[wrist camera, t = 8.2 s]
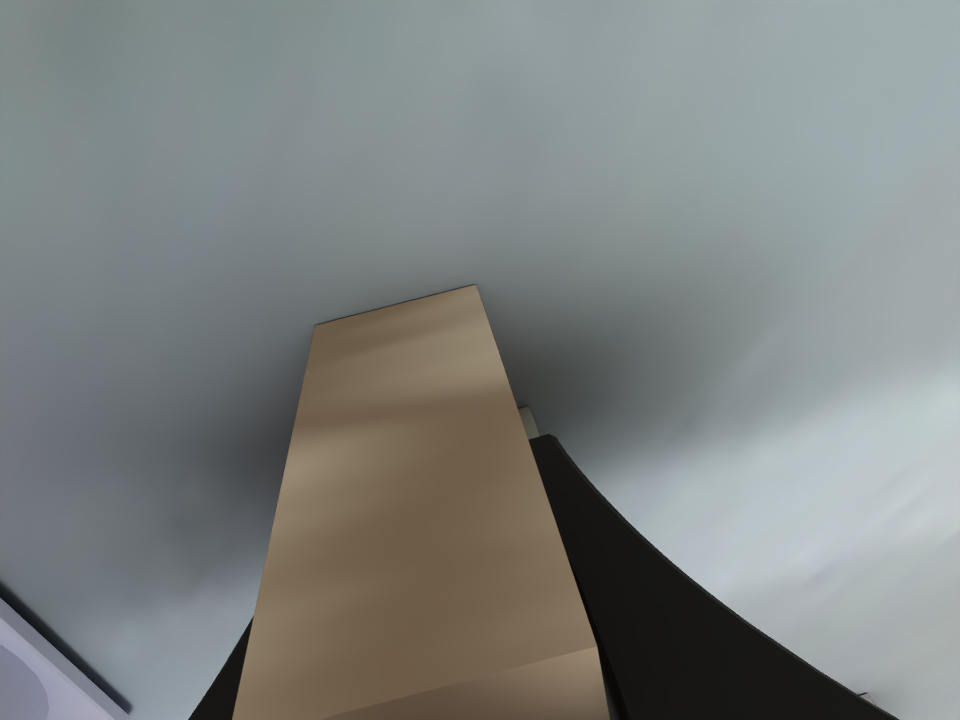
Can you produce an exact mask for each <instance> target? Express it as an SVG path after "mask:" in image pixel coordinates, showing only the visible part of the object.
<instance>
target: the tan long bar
mask: <svg viewBox="0 0 960 720" xmlns="http://www.w3.org/2000/svg"><path fill="white" fill-rule="evenodd" d="M536 437H540V434H539V432H538V429H537V426H536V423H535V421H534V418H533V415H532V412H531V410H530V407H529V406H528V407H524V408H520V409H518V408H517V405H516V402H515V399H514V396H513V393H512V390H511V387H510V384H509V381H508V378H507V375H506V372H505V369H504V366H503V363H502V360H501V357H500V354H499V351H498V348H497V345H496V342H495V339H494V336H493V333H492V330H491V327H490V324H489V321H488V318H487V315H486V312H485V309H484V306H483V303H482V300H481V297H480V294H479V291H478V288H477V286H476V285H472V286H468V287H464V288H460V289H456V290H452V291H448V292H444V293H440V294H436V295H433V296H429V297H425V298H421V299H417V300H413V301H409V302H405V303H401V304H397V305H393V306H389V307H386V308H382V309H378V310H374V311H370V312H366V313H362V314H358V315H354V316H350V317H346V318H342V319H338V320H335V321H331V322H327V323H323V324H319V325H315V327H314V332H313V337H312V342H311V346H310V351H309V356H308V361H307V365H306V370H305V375H304V380H303V385H302V389H301V394H300V399H299V404H298V408H297V413H296V418H295V423H294V427H293V432H292V437H291V442H290V446H289V451H288V456H287V461H286V466H285V470H284V475H283V480H282V485H281V489H280V494H279V499H278V504H277V508H276V513H275V518H274V523H273V528H272V532H271V537H270V542H269V547H268V551H267V556H266V561H265V566H264V570H263V575H262V580H261V585H260V589H259V594H258V599H257V604H256V609H255V613H254V618H253V623H252V628H251V632H250V637H249V642H248V647H247V651H246V656H245V661H244V666H243V670H242V675H241V680H240V685H239V690H238V694H237V699H236V704H235V709H234V713H233V718H232V720H610V718H609V712H608V706H607V700H606V695H605V689H604V683H603V677H602V671H601V666H600V660H599V654H598V648H597V644H596V641H595V638H594V635H593V632H592V629H591V626H590V623H589V620H588V617H587V614H586V611H585V608H584V605H583V602H582V599H581V596H580V593H579V590H578V587H577V585H576V582H575V579H574V576H573V573H572V570H571V567H570V564H569V561H568V558H567V555H566V552H565V549H564V546H563V543H562V540H561V537H560V534H559V531H558V528H557V525H556V522H555V519H554V516H553V513H552V510H551V507H550V504H549V501H548V498H547V495H546V492H545V489H544V486H543V483H542V480H541V477H540V474H539V471H538V468H537V465H536V462H535V459H534V456H533V453H532V450H531V447H530V444H529V441H528V439H532V438H536Z"/></svg>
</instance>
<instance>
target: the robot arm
mask: <svg viewBox="0 0 960 720" xmlns="http://www.w3.org/2000/svg"><path fill="white" fill-rule="evenodd" d="M528 441H529V444H530V447H531V450H532V453H533V456H534V459H535V462H536V465H537V468H538V471H539V474H540V477H541V480H542V483H543V486H544V489H545V492H546V495H547V498H548V501H549V504H550V507H551V510H552V513H553V516H554V519H555V522H556V525H557V528H558V531H559V534H560V537H561V540H562V543H563V546H564V549H565V552H566V555H567V558H568V561H569V564H570V567H571V570H572V573H573V576H574V579H575V582H576V585H577V587H578V590H579V593H580V596H581V599H582V602H583V605H584V608H585V611H586V614H587V617H588V620H589V623H590V626H591V629H592V632H593V635H594V638H595V641H596V644H597V648H598V654H599V660H600V666H601V671H602V677H603V683H604V689H605V695H606V700H607V706H608V712H609V718H610V720H899V719H897V718H896V717H894V716H892V715H890V714H889V713H887V712H885V711H884V710H882V709H880V708H879V707H877V706H875V705H873V704H872V703H870V702H869V701H867V700H865V699H864V698H862V697H861V696H859V695H857V694H856V693H854V692H852V691H851V690H849V689H848V688H846V687H844V686H843V685H841V684H840V683H838V682H836V681H835V680H833V679H832V678H830V677H828V676H827V675H825V674H824V673H822V672H820V671H819V670H817V669H816V668H814V667H813V666H811V665H810V664H808V663H807V662H806V661H804V660H803V659H801V658H800V657H798V656H797V655H795V654H794V653H792V652H791V651H789V650H788V649H786V648H785V647H783V646H782V645H781V644H779V643H778V642H776V641H775V640H773V639H772V638H770V637H769V636H767V635H766V634H764V633H763V632H761V631H760V630H758V629H757V628H756V627H754V626H753V625H751V624H750V623H748V622H747V621H746V620H744V619H743V618H742V617H740V616H739V615H738V614H736V613H735V612H734V611H732V610H731V609H730V608H728V607H727V606H726V605H724V604H723V603H722V602H720V601H719V600H718V599H716V598H715V597H714V596H713V595H711V594H710V593H709V592H708V591H706V590H705V589H704V588H703V587H701V586H700V585H699V584H698V583H696V582H695V581H694V580H693V579H691V578H690V577H689V576H688V575H686V574H685V573H684V572H683V571H682V570H681V569H679V568H678V567H677V566H676V565H675V564H673V563H672V562H671V561H670V560H669V559H668V558H667V557H665V556H664V555H663V554H662V553H661V552H660V551H659V550H658V549H657V548H655V547H654V546H653V545H652V544H651V543H650V542H649V541H648V540H647V539H646V538H645V537H644V536H642V535H641V534H640V533H639V532H638V531H637V530H636V529H635V528H634V527H633V526H632V525H631V524H630V523H629V522H628V521H627V520H626V519H625V518H624V517H623V516H622V515H621V514H620V513H619V512H618V511H617V510H616V509H615V508H614V507H613V506H612V505H611V504H610V503H609V502H608V501H607V499H606V498H605V497H604V496H603V495H602V494H601V493H600V492H599V491H598V490H597V489H596V488H595V487H594V485H593V484H592V483H591V482H590V481H589V480H588V479H587V477H586V476H585V475H584V474H583V473H582V471H581V470H580V469H579V468H578V467H577V465H576V464H575V463H574V462H573V460H572V459H571V458H570V457H569V455H568V454H567V453H566V451H565V450H564V448H563V447H562V445H561V444H560V442H559V441H558V439H557V438H556V437H555V436H553V435H551V434H547V435H543V436H540V437H536V438H532V439H528ZM253 618H254V616H253ZM253 618H252V619H251V621H250V623H249V624H248V626H247V628H246V630H245V631H244V633H243V635H242V636H241V638H240V640H239V641H238V643H237V645H236V646H235V648H234V650H233V651H232V653H231V655H230V656H229V658H228V660H227V661H226V663H225V665H224V666H223V668H222V669H221V671H220V673H219V674H218V676H217V677H216V679H215V680H214V682H213V683H212V685H211V687H210V688H209V690H208V691H207V693H206V694H205V696H204V697H203V699H202V700H201V702H200V703H199V705H198V706H197V708H196V709H195V710H194V712H193V713H192V715H191V716H190V718H189V719H188V720H232V718H233V713H234V709H235V704H236V699H237V694H238V690H239V685H240V680H241V675H242V670H243V666H244V661H245V656H246V651H247V647H248V642H249V637H250V632H251V628H252V623H253ZM0 720H130V718H129V716H128V715H127V713H126V712H125V711H123V710H122V709H121V708H120V707H119V706H118V705H117V704H116V703H115V702H114V701H113V700H111V699H110V698H109V697H108V696H107V695H106V694H105V693H104V692H103V691H102V690H101V689H99V688H98V687H97V686H96V685H95V684H94V683H93V682H92V681H91V680H90V679H89V678H87V677H86V676H85V675H84V674H83V673H82V672H81V671H80V670H79V669H78V668H77V667H75V666H74V665H73V664H72V663H71V662H70V661H69V660H68V659H67V658H66V657H65V656H63V655H62V654H61V653H60V652H59V651H58V650H57V649H56V648H55V647H54V646H53V645H51V644H50V643H49V642H48V641H47V640H46V639H45V638H44V637H43V636H42V635H41V634H39V633H38V632H37V631H36V630H35V629H34V628H33V627H32V626H31V625H30V624H29V623H27V622H26V621H25V620H24V619H23V618H22V617H21V616H20V615H19V614H18V613H17V612H15V611H14V610H13V609H12V608H11V607H10V606H9V605H8V604H7V603H6V602H4V601H3V600H2V599H1V598H0Z"/></svg>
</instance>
